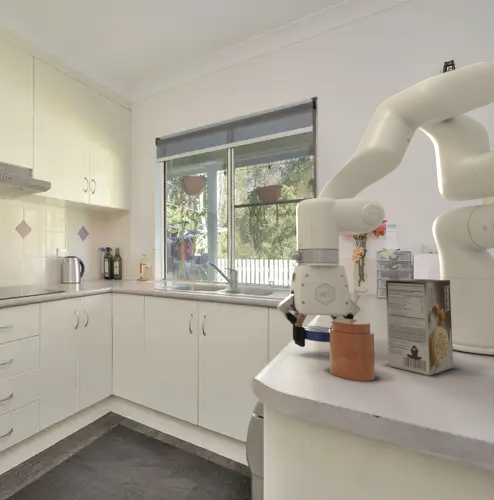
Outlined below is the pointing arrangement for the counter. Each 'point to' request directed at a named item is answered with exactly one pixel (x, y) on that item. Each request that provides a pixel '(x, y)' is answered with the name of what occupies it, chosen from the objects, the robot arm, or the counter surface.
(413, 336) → the coffee box
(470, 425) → the counter surface
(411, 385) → the counter surface
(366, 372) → the jar
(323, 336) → the lid
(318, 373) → the counter surface
